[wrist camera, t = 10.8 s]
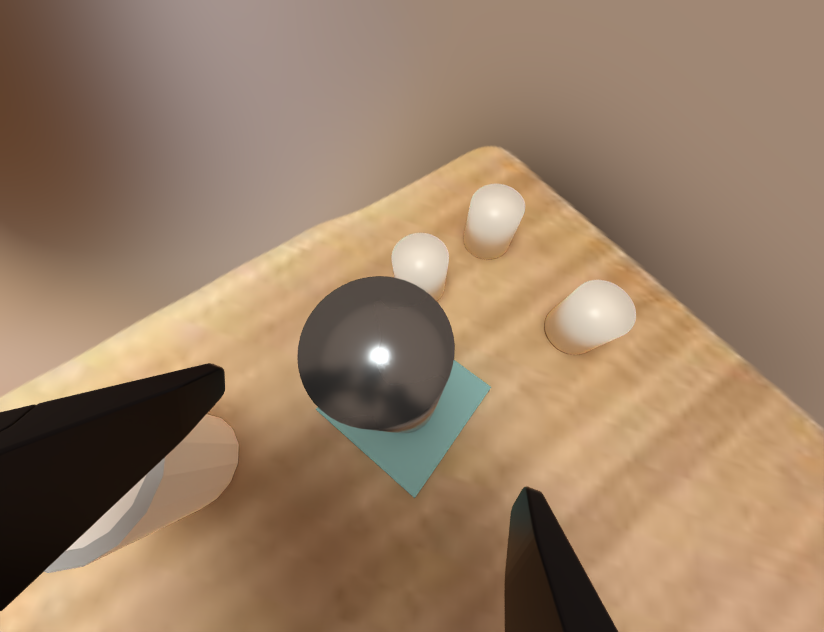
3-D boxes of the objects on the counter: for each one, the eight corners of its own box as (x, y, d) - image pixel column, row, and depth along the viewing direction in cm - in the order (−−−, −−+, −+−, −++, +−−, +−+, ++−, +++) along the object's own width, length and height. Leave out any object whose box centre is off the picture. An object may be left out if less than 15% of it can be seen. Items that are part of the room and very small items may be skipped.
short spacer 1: (425, 316, 23) (425, 293, 19) (386, 289, 24) (379, 261, 20) (454, 281, 24) (460, 252, 20) (415, 256, 25) (415, 223, 21)
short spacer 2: (599, 357, 21) (640, 341, 18) (545, 351, 21) (574, 334, 18) (594, 308, 23) (631, 283, 19) (543, 302, 23) (570, 276, 19)
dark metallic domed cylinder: (410, 447, 19) (386, 467, 7) (360, 405, 20) (264, 361, 8) (448, 394, 20) (485, 331, 8) (399, 356, 21) (366, 251, 9)
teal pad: (414, 497, 19) (414, 498, 18) (317, 410, 21) (315, 409, 20) (489, 388, 21) (491, 387, 20) (395, 318, 23) (394, 316, 22)
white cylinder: (170, 554, 18) (26, 622, 11) (118, 458, 20) (-30, 469, 13) (270, 464, 20) (194, 478, 13) (213, 382, 21) (122, 358, 15)
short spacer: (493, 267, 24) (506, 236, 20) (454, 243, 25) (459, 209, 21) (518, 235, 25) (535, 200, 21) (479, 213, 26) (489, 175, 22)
